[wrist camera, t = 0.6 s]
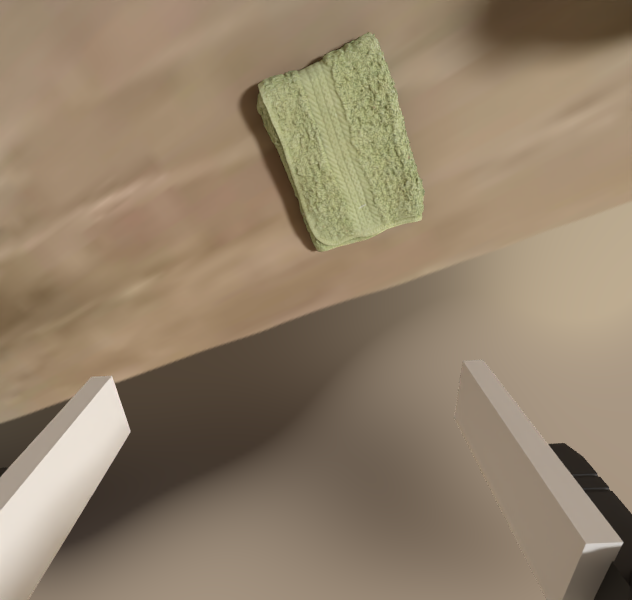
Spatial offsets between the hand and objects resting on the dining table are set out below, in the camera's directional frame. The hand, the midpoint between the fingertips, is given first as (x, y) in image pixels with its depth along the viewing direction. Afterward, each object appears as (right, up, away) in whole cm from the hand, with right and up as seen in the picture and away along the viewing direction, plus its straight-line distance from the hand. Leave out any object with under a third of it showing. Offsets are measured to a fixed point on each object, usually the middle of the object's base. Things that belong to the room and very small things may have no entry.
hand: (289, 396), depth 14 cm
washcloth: (+4, +19, +23) cm, 30 cm away
